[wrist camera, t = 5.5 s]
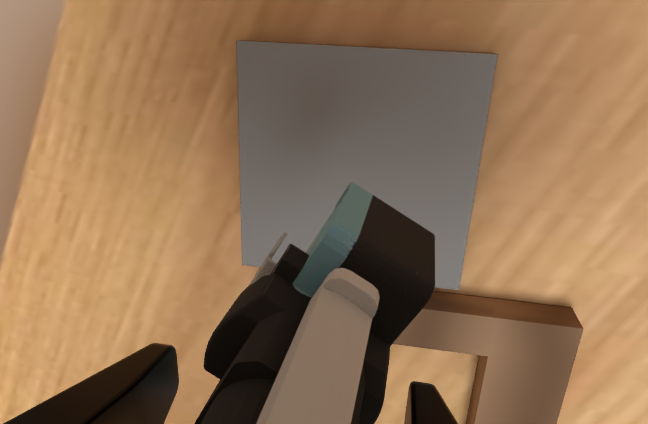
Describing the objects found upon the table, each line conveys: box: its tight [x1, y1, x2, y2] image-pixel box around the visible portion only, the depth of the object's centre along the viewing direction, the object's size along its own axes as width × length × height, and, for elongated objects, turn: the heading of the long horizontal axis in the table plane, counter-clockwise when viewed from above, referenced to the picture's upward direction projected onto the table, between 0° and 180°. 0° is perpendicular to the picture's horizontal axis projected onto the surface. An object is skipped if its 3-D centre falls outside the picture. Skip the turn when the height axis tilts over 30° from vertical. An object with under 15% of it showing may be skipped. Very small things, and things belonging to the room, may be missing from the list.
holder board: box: [393, 291, 583, 424], centre depth 24 cm, size 14×13×2 cm
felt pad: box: [237, 40, 498, 290], centre depth 21 cm, size 10×10×1 cm
